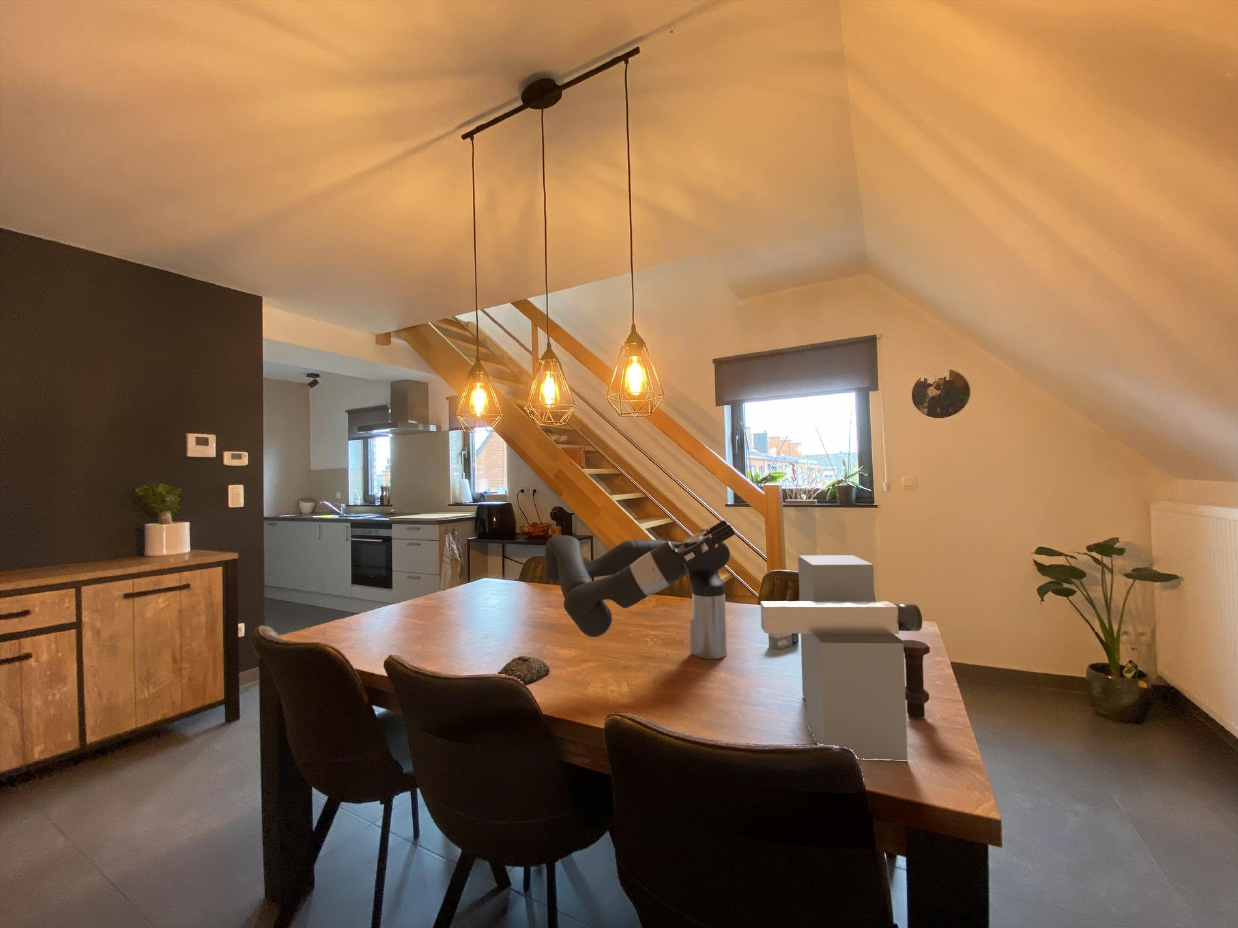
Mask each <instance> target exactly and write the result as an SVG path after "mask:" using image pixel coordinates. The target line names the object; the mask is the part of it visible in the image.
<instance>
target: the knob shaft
mask: <svg viewBox="0 0 1238 928" xmlns="http://www.w3.org/2000/svg"><path fill="white" fill-rule="evenodd" d="M760 622H761V623H760V624H761V625H760V626H761V629H762V631H763V632H764V634H768V633H798V635H799V634H800V635H801V634H894V635H899V634H900V633H899V632H919V631H921V630H922V628H923V617H922V612H921V610H920V607H918V605H917V604H915V603H914V604H913V603H908V604H905V603H904V604H903V603H899V604H898V603H892V602H891V601H888V600H887V601H884V600H883V601H880V600H879V601H800V600H797V601H796V600H795V601H789V600H784V601H783V600H782V601H781V600H780V601H777V600H776V601H774V600H773V601H772V600H770V601H766V600H765V601H764V600H763V601H760Z"/></svg>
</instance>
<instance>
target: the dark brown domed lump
mask: <svg viewBox="0 0 1238 928" xmlns="http://www.w3.org/2000/svg"><path fill="white" fill-rule="evenodd" d="M549 672H551V671H550V667H549V665H548V664H547V663H546V662H544V660H542V659H539V658H538V657H534V656H527V655H524V656H523V655H519V656H518V657H514V658H512V659H511V660H510V661H508V662H507V663H506V664H505V665H504V666H503V667H502V668H501V670H499V671H497V675H498V674H505V675H508V676H513V677H516V678H517V679H520V681H522V682H523V683H526V684H525V685H528V684H530V683H529V682H531V681H533V682H535V681H534V680H536V679H538V680H540V679H542V678H543V676H544V677H546V676H547V675H546V674H548V675H549V674H550V673H549ZM545 675H546V676H545ZM541 677H542V678H541ZM539 678H540V679H539ZM536 681H537V680H536ZM531 683H532V682H531Z"/></svg>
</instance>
